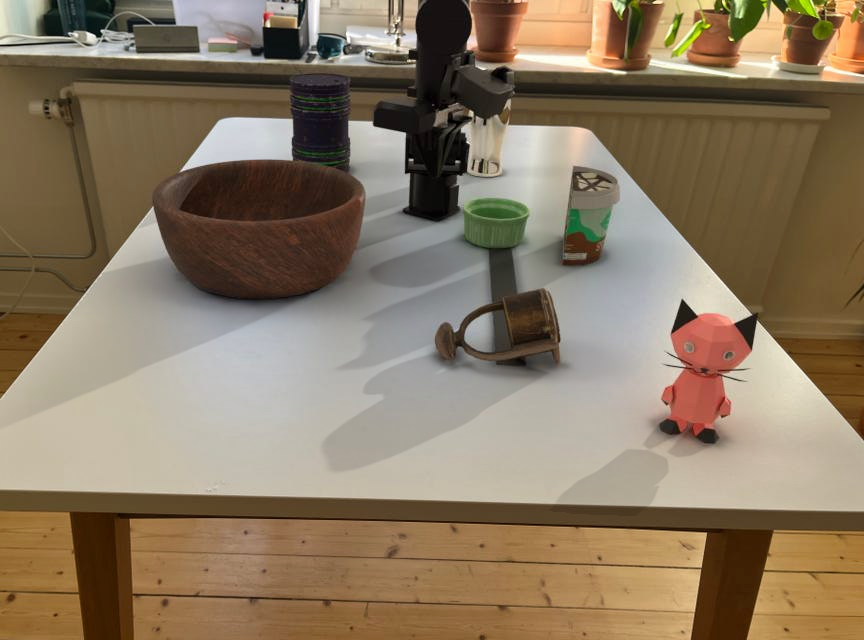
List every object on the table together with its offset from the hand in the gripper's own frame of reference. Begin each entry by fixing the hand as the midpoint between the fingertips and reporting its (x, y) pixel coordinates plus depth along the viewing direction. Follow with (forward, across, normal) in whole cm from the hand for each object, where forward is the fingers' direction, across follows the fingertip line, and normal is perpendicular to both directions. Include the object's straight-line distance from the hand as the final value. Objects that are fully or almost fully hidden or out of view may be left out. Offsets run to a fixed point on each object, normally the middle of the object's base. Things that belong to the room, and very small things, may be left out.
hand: (434, 176), depth 100 cm
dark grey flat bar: (+11, -2, -12) cm, 16 cm away
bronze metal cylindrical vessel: (+11, -16, -19) cm, 27 cm away
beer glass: (+11, +39, +14) cm, 43 cm away
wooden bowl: (+11, -15, +15) cm, 24 cm away
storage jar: (+11, +22, +36) cm, 44 cm away
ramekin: (+11, +12, -3) cm, 16 cm away
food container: (+11, +15, -15) cm, 24 cm away
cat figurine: (+11, -18, -39) cm, 44 cm away
